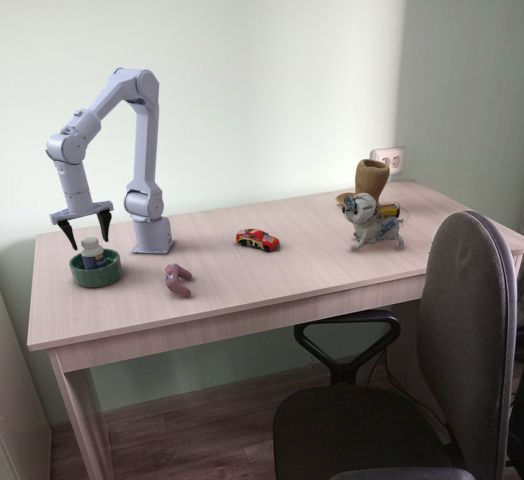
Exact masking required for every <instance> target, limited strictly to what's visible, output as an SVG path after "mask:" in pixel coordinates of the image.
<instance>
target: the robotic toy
mask: <svg viewBox="0 0 524 480" xmlns="http://www.w3.org/2000/svg"><path fill="white" fill-rule="evenodd" d="M388 203H389V201H386V202H385V204H380V205H379V206H378V205H377V202H376V201H375V199H374V198H373V197H372V196H371V195H369V194H367V193H360V194H357V195H355V196H354V198H352V197H351V195H350V197H345V198H344V204H345V205H346V207H345V206H342V208H341V213H342V214H343V217H344V219H346V220H347V222H349V223H351V224H352V225H353V228H354V231H353V233H352V235H353V237H355V240H356V241H357V243H358V244H357V245H351V246H349V249H350V251H351V250H352V251H359V250H360V249H362V248H363V247H364V246H365V245H374V244H376V243H380V244H381V243H385V242H390V241H396V242H398V245H397V249H398V250H401V249H403V247H404V246H405V240H404V238H403V237H402V236H400V233H399V231H400V229H402V228H403V226H404V225H405V223H407V221H408V219H409V216H410V215H409V212H408V211H406V209H405V208H403V207H401V206H400V203H399V202H397V201H395V203H389V204H388ZM396 204H398V205H396ZM376 205H377V206H376ZM401 209H402V210H404V211H406V213H407V215H408V216H407V218H406V220H405V222H404V218H401V219H399V218H400V214H401ZM374 211H375V213H374ZM400 225H401V227H400Z"/></svg>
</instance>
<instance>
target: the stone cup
mask: <svg viewBox="0 0 524 480" xmlns="http://www.w3.org/2000/svg"><path fill="white" fill-rule="evenodd" d="M356 165H357V166H356V168H355V176H354V188H355V189H354V192H343V193H340V194H338V195H336V196H335V201H336V202H338V203H339V204H341V205H342V206H343V207H345V208H346V205H345V204H344V198H345V197H350V195H351V197H352V198H354V196H355V195H357V194H360V193H367V194H369V195H371V196H372V197H373V198H374V199H375V201H376V202H377V205H378V206H379V205H381V203H379V200H380V196H381V194H382V192H383V191H384V189H385V187H386V185H387V183H388V181H389V178H390V175H391V174H390V173H391V168H390V166H389V165H388V164H387V163H385V162H382V161H380V160H375V159H371V158H363V159H361V160H360V161H358V163H357V164H356ZM377 205H376V206H377ZM374 213H375V211H374Z"/></svg>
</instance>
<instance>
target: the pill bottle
mask: <svg viewBox="0 0 524 480" xmlns="http://www.w3.org/2000/svg"><path fill="white" fill-rule="evenodd" d="M80 244H81V246H82V248H81V249H80V253H81V255H82V258H83V262H84V265H85V269H86V270H92V269H99V268H102V267H105V266H107V262H106V258H105V254H104V250H103V249H104V247H103V246H102V245H100V242H99V239H98V237H96V236H86V237H84V238H82V239H81V240H80Z"/></svg>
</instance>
